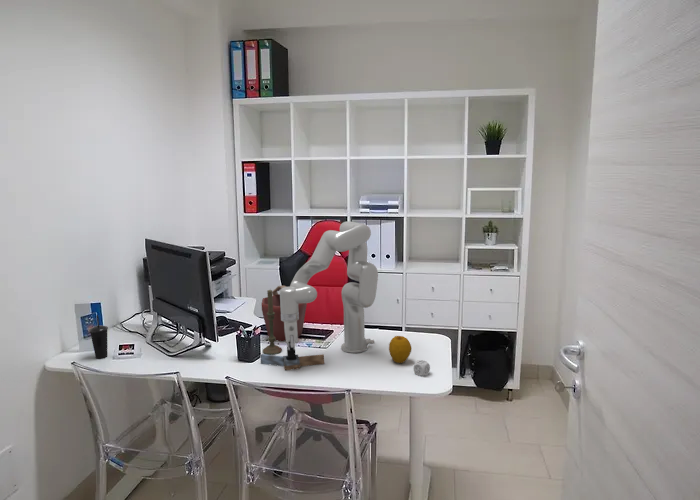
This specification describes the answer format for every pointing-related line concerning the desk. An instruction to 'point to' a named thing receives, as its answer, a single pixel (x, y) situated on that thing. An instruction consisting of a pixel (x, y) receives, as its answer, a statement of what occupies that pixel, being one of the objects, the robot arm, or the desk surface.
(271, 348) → the candlestick holder
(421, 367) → the die
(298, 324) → the bucket
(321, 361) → the hammer
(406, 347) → the apple
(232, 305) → the desk surface
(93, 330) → the drinking cup
